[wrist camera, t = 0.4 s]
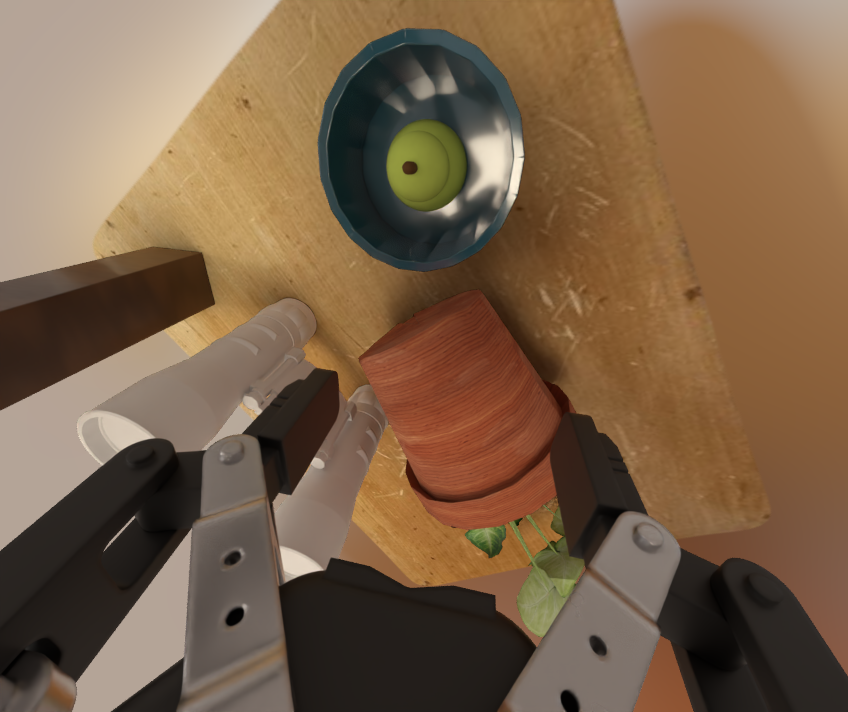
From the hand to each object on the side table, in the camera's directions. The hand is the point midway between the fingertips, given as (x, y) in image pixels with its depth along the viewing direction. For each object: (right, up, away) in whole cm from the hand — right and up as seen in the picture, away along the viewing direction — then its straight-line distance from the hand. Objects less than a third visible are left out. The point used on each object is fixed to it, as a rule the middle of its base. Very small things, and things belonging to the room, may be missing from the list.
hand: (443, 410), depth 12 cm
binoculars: (-10, +1, +23) cm, 25 cm away
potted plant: (+9, -6, +23) cm, 26 cm away
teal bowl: (0, +16, +13) cm, 20 cm away
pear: (0, +15, +12) cm, 20 cm away
